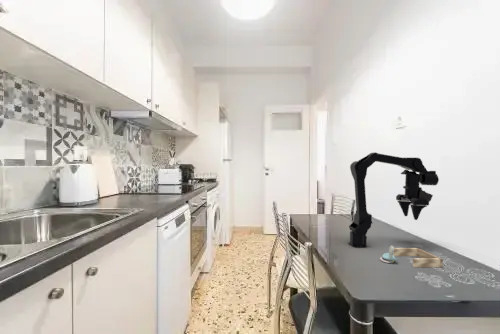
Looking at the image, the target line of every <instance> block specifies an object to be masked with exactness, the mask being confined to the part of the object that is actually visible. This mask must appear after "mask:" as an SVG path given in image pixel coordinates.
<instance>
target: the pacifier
mask: <svg viewBox="0 0 500 334" xmlns="http://www.w3.org/2000/svg"><path fill="white" fill-rule="evenodd" d="M394 248H395V246H394V245H390V246H389V247H388V252H385V253H383V254H382V256H380V257H379V260H380V261H381V262H383V263H386V264H388V263H389V264H390V263H391V264H392V263H394V262H395V261H399V259H398V258H396V256H394V255H393V253H394V250H395V249H394Z"/></svg>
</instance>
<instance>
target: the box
mask: <svg viewBox="0 0 500 334" xmlns="http://www.w3.org/2000/svg"><path fill="white" fill-rule="evenodd" d="M394 249H395V250H394V253H393V255H394V257H397V256H398V257H415V258H412V267H413V268H443V267H444V259H443V258H441V257H440V256H437V255H434V254H432V253H430V252H427V250H423V249H421V248H418V247H394ZM417 257H419V258H417Z"/></svg>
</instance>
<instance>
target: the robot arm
mask: <svg viewBox="0 0 500 334" xmlns="http://www.w3.org/2000/svg"><path fill="white" fill-rule="evenodd" d="M375 162H376V163H377V162H378V163H383V164H389V165H394V166H397V167H401V168H403V171H401V172H400V174H401V175H405V182H404V183H405V184H404V185H403V186H402V188H403V189H404V194H403V193H402V194H400V193H399V194H397V195H396V196H395V197H396V199H395V200H397V202H398V205H399V207H400V208H401V211H402V213H403V216H404V217H408V214H409V208H410V209H411V213H412V216H413V219H414V220H415V221H417V220H418V219H419V217H420V214H421V212H422V210H423V209H424V208H427V207H428V206H429V205H430V202H431V201H432V198H433V196H434V195H433V194H431V193H428V192H426V190H423V188H422V187H421V186H437V185H438V184H439V179H440V178H439V176H438V174H437V171H436V170H427V168H426V166H425V165H424V164H423V160H422V159H421V158H420V157H400V156H395V155H388V154H383V153H378V152H370V153H369V154H367V155H366V156H364V157H362V158H360V159H359V160H356V161H352V162H351V164H350V166H349V168H350V169H349V170H350V173H351V176H352V178H353V181H354V193H355V194H354V195H355V208H356V210H355V213H354V217H353V222H351V223H350V224H349V225H348V227H349V241H348V243H347V244H349V245H350V246H352V247H353V248H368V245H367V239H368V237H367V234H368V230H370V229H371V228H372V224H373V221H372V218H373V215H372V214H371V213H369V212H368V210H367V197H366V196H367V195H366V184H365V180H366V176H367V174H368V173H367V171H368V168H370V167H371V166H372V165H373V164H374V163H375ZM420 185H421V186H420Z"/></svg>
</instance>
